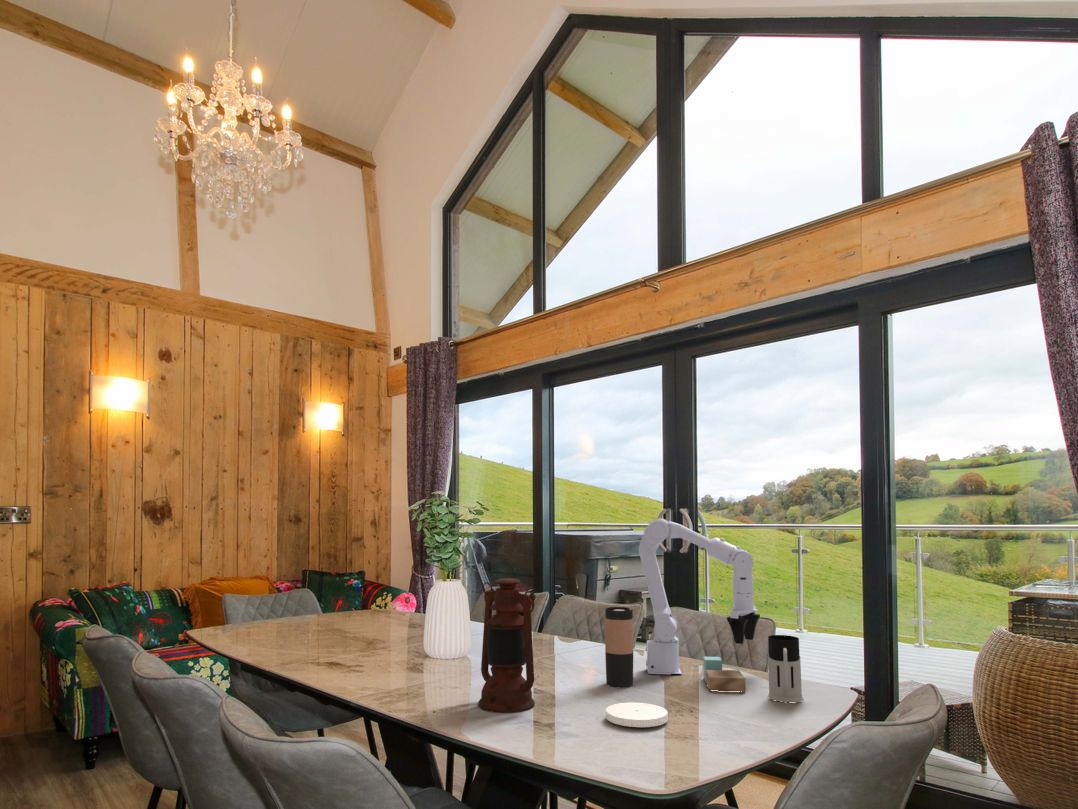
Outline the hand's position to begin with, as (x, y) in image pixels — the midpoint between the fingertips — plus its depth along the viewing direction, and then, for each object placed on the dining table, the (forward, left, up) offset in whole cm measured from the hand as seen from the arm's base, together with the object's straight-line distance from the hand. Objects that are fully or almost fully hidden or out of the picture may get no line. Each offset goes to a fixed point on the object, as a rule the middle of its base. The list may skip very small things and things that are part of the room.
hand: (744, 641), depth 212 cm
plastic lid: (-33, -46, -10) cm, 57 cm away
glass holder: (+5, -26, -10) cm, 28 cm away
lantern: (-64, -36, -10) cm, 74 cm away
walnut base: (-8, -14, -10) cm, 19 cm away
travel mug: (-36, -13, -10) cm, 39 cm away
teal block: (-10, -6, -10) cm, 15 cm away
